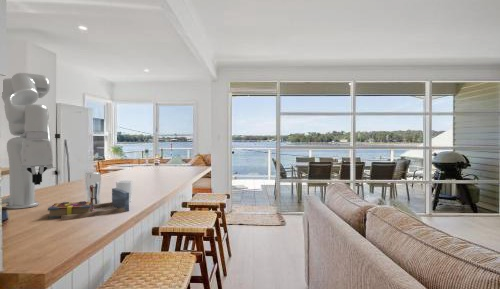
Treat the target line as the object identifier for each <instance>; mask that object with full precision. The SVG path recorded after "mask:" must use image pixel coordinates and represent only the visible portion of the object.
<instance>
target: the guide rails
mask: <svg viewBox="0 0 500 289" xmlns="http://www.w3.org/2000/svg"><path fill="white" fill-rule="evenodd" d="M111 200H112V201H111V202H104V203H100V204H94V206H93V207H94V209H101V207H102V208H109V206H110V207H115V208H109V209H104V210H103V209H102V210H94V211H92V212H86V213H78V214H71V215H63V216H61V218H60V219H61V221H67V220H73V219H83V218H89V217H90V218H91V217H96V216H95V215H97V216H103V214H104V215H110V214H118V213H124V212H125V213H126V212H130V202H129V192H126V191H123V190H120V189H117V188H116V187H115V188H111Z"/></svg>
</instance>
